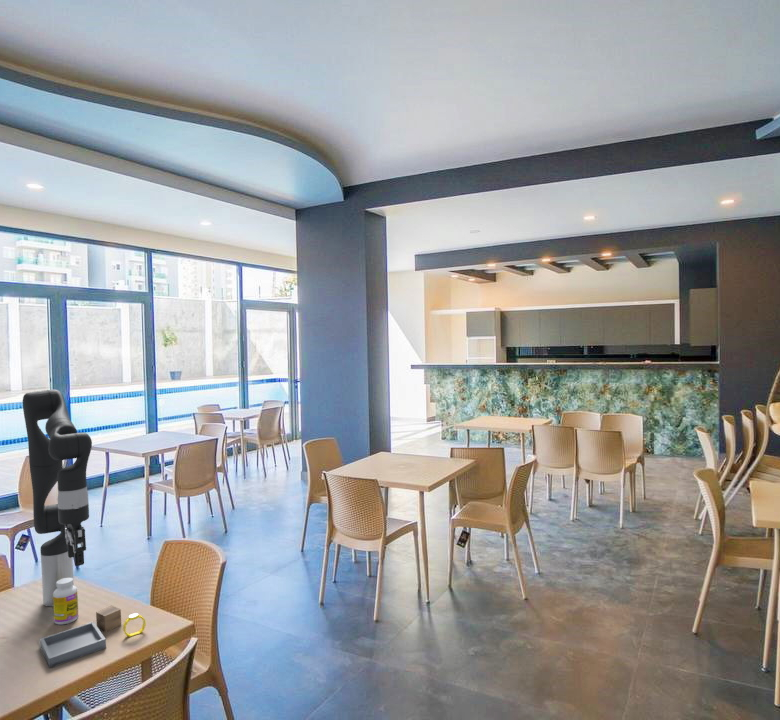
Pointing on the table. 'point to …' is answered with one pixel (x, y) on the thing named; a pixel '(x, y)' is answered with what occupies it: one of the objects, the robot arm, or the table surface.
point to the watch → (132, 617)
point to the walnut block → (108, 618)
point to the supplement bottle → (65, 602)
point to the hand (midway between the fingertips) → (76, 560)
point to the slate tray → (72, 644)
